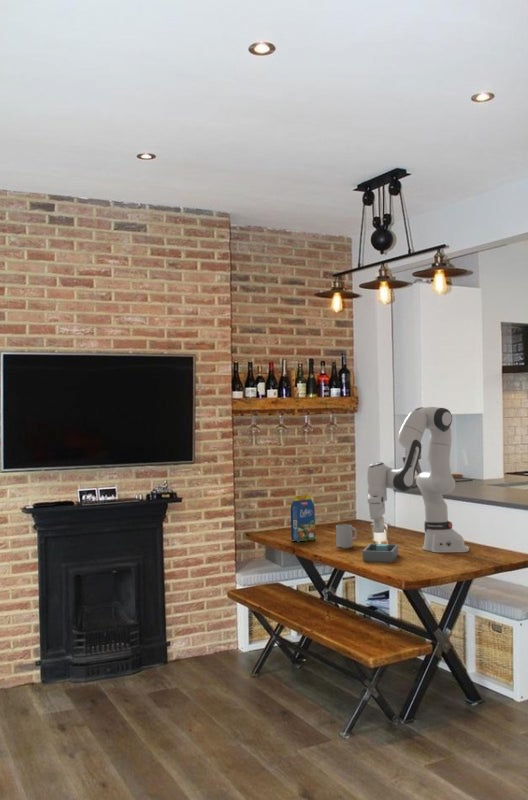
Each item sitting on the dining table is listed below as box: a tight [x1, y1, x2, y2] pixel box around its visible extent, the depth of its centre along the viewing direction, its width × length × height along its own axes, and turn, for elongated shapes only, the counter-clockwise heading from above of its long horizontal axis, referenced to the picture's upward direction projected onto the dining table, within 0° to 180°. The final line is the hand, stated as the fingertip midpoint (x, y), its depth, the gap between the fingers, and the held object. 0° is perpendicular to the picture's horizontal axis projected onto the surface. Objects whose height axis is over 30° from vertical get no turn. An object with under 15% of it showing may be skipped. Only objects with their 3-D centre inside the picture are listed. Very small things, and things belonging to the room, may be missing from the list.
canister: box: [372, 515, 385, 534], centre depth 351 cm, size 5×5×7 cm
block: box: [376, 543, 389, 551], centre depth 358 cm, size 5×5×5 cm
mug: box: [335, 523, 358, 549], centre depth 387 cm, size 12×8×11 cm
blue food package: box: [290, 493, 316, 543], centre depth 407 cm, size 6×12×25 cm, turn 124°
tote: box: [362, 543, 399, 563], centre depth 354 cm, size 14×18×5 cm
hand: (378, 526), depth 351 cm, fingers closed on canister, 5 cm apart
